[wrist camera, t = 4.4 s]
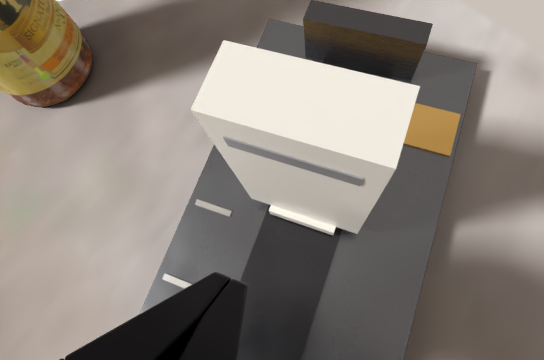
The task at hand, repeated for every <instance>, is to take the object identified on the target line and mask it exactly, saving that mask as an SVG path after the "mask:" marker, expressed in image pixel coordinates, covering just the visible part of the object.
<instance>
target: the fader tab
mask: <svg viewBox="0 0 544 360" xmlns="http://www.w3.org/2000/svg"><path fill="white" fill-rule="evenodd" d="M419 88H420V86H417V85H413V84H409V83H404V82H400V81H396V80H392V79H387V78H383V77H379V76H375V75H370V74H366V73H362V72H357V71H353V70H349V69H345V68H340V67H336V66H332V65H328V64H323V63H319V62H315V61H311V60H306V59H302V58H298V57H294V56H289V55H285V54H281V53H276V52H272V51H268V50H264V49H259V48H255V47H251V46H247V45H242V44H238V43H234V42H230V41H225V40H223V42H222V44H221V46H220V49H219V51H218V53H217V55H216V57H215V59H214V61H213V63H212V65H211V68H210V70H209V72H208V74H207V76H206V78H205V80H204V82H203V85H202V87H201V89H200V91H199V93H198V95H197V97H196V99H195V101H194V104H193V106H192V108H191V111H192V113H193V114H194V116H195V117H196V118H197V120H198V121H199V123H200V124H201V126H202V127H203V129H204V130H205V132H206V133H207V135H208V136H209V137H210V139H211V140H212V142H213V143H214V145H215V146H216V148H217V149H218V151H219V152H220V153H221V155H222V156H223V158H224V159H225V161H226V162H227V164H228V165H229V167H230V168H231V169H232V171H233V172H234V174H235V175H236V177H237V178H238V180H239V181H240V183H241V184H242V185H243V187H244V188H245V190H246V191H247V193H248V194H249V196H250V197H251V199H254V200H257V201H260V202H263V203H266V204H269V205H271V206H270V208H269V212H270V214H272V215H275V216H278V217H281V218H283V219H286V220H289V221H292V222H295V223H298V224H301V225H304V226H307V227H310V228H313V229H316V230H319V231H321V232H324V233H327V234H330V235H334V232H335V228H336V227H338V228H341V229H344V230H347V231H350V232H353V233H356V234H358V232H359V230H360V229H361V227H362V225H363V224H364V222H365V220H366V219H367V217H368V215H369V213H370V212H371V210H372V208H373V207H374V205H375V203H376V202H377V200H378V198H379V197H380V195H381V193H382V192H383V190H384V188H385V187H386V185H387V183H388V182H389V180H390V178H391V177H392V175H393V173H394V172H395V170H396V167H397V164H398V160H399V157H400V154H401V150H402V147H403V143H404V140H405V136H406V133H407V130H408V126H409V123H410V119H411V116H412V112H413V109H414V106H415V102H416V99H417V95H418V92H419Z"/></svg>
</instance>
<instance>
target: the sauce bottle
mask: <svg viewBox="0 0 544 360" xmlns="http://www.w3.org/2000/svg"><path fill="white" fill-rule="evenodd" d="M92 61H93V56H92V53H91V50H90V48H89V46H88V44H87V41H86V40H85V39H84V37H83V36H82V34H81V32H80V30H79V28H78V26H77V25H76V24H75V22H74V21H73V20H72V19H71V18H70V16H69V15H68V14H67V13H66V12H65V11H64V9H63V8H62V7H61V6H60V5H59V4H58V3H57V1H56V0H0V91H2V92H4V93H7V94H10V95H11V96H12V97H13V98H15V99H16V100H17V101H19V102H22V103H23V104H25V105H31V106H34V107H46V106H50V105H54V104H57V103H59V102H62V101H65V100H67V99H68V98H70V97H71V96H72V95H73V94H75V92H76V91H77V90H78V89H79V88H80V87H81V86H82V85H83V83H84V82H85V80H86V79H87V77H88V75H89V73H90V69H91V68H92Z"/></svg>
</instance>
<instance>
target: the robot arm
mask: <svg viewBox="0 0 544 360" xmlns="http://www.w3.org/2000/svg"><path fill="white" fill-rule="evenodd" d="M247 289H248V285H247V284H246V283H244V282H242V281H239V280H237V279H231V278H230V277H229V276H226V275H224V274H221V273H219V272H213V273H211V274H210V275H208V276H206V277H204V278H202V279H201V280H199V281H197V282H195V283H194V284H192V285H190V286H188V287H187V288H185V289H183V290H181V291H180V292H178V293H176V294H174V295H173V296H171V297H169V298H167V299H166V300H164V301H162V302H160V303H158V304H157V305H155V306H153V307H151V308H150V309H148V310H146V311H144V312H143V313H141V314H139V315H137V316H136V317H134V318H132V319H130V320H129V321H127V322H125V323H123V324H122V325H120V326H118V327H116V328H115V329H113V330H111V331H109V332H107V333H106V334H104V335H102V336H100V337H99V338H97V339H95V340H93V341H92V342H90V343H88V344H86V345H85V346H83V347H81V348H79V349H78V350H76V351H74V352H72V353H71V354H69V355H67V356H66V357H65V360H237V356H238V349H239V342H240V336H241V329H242V322H243V316H244V309H245V302H246V295H247ZM60 360H64V359H60Z"/></svg>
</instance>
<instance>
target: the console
mask: <svg viewBox="0 0 544 360" xmlns="http://www.w3.org/2000/svg"><path fill="white" fill-rule="evenodd" d="M303 21H304V26H300V25H295V24H290V23H286V22H281V21H276V20H271V19H269V21H268V23H267V26H266V28H265V30H264V33H263V35H262V37H261V39H260V42H259V44H258V46H257V48H259V49H264V50H268V51H272V52H276V53H281V54H285V55H289V56H294V57H298V58H302V59H306V60H311V61H315V62H319V63H323V64H328V65H332V66H336V67H340V68H345V69H349V70H353V71H357V72H362V73H366V74H370V75H375V76H379V77H383V78H387V79H392V80H396V81H400V82H404V83H409V84H413V85H417V86H420V88H419V92H418V95H417V99H416V102H415V106H414V109H413V112H412V116H411V119H410V123H409V126H408V130H407V133H406V136H405V140H404V143H403V147H402V150H401V154H400V157H399V160H398V164H397V167H396V170H395V172H394V173H393V175H392V177H391V178H390V180H389V182H388V183H387V185H386V187H385V188H384V190H383V192H382V193H381V195H380V197H379V198H378V200H377V202H376V203H375V205H374V207H373V208H372V210H371V212H370V213H369V215H368V217H367V219H366V220H365V222H364V224H363V225H362V227H361V229H360V230H359V232H358V234H356V233H353V232H350V231H347V230H344V229H341V228H338V227H336V228H335V232H334V235H330V234H327V233H324V232H321V231H319V230H316V229H313V228H310V227H307V226H304V225H301V224H298V223H295V222H292V221H289V220H286V219H283V218H281V217H278V216H275V215H272V214H270V212H269V208H270V206H271V205H269V204H266V203H263V202H260V201H257V200H254V199H251V197H250V196H249V194H248V193H247V191H246V190H245V188H244V187H243V185H242V184H241V183H240V181H239V180H238V178H237V177H236V175H235V174H234V172H233V171H232V169H231V168H230V167H229V165H228V164H227V162H226V161H225V159H224V158H223V156H222V155H221V153H220V152H219V151H218V149H217V148H216V146H215V145H214V146H213V148H212V151H211V153H210V155H209V157H208V160H207V162H206V164H205V166H204V169H203V171H202V173H201V176H200V178H199V180H198V182H197V185H196V187H195V189H194V191H193V194H192V196H191V198H190V200H189V203H188V205H187V207H186V210H185V212H184V214H183V216H182V219H181V221H180V223H179V225H178V228H177V230H176V232H175V235H174V237H173V239H172V241H171V244H170V246H169V248H168V250H167V253H166V255H165V257H164V259H163V262H162V264H161V266H160V269H159V271H158V273H157V275H156V278H155V280H154V282H153V284H152V287H151V289H150V291H149V294H148V296H147V298H146V300H145V303H144V305H143V307H142V309H141V312H140V314H141V313H143V312H144V311H146V310H148V309H150V308H151V307H153V306H155V305H157V304H158V303H160V302H162V301H164V300H166V299H167V298H169V297H171V296H173V295H174V294H176V293H178V292H180V291H181V290H183V289H185V288H187V287H188V286H190V285H192V284H194V283H195V282H197V281H199V280H201V279H202V278H204V277H206V276H208V275H210V274H211V273H213V272H219V273H221V274H224V275H226V276H229V277H230V278H231V279H237V280H239V281H242V282H244V283H246V284H247V285H248V289H247V295H246V302H245V309H244V316H243V322H242V329H241V336H240V342H239V349H238V356H237V360H403V359H404V355H405V351H406V347H407V343H408V339H409V335H410V331H411V327H412V323H413V319H414V315H415V311H416V307H417V303H418V299H419V295H420V291H421V287H422V283H423V279H424V275H425V271H426V267H427V263H428V259H429V255H430V251H431V247H432V243H433V239H434V235H435V231H436V227H437V223H438V219H439V215H440V211H441V207H442V203H443V199H444V194H445V190H446V186H447V182H448V178H449V174H450V170H451V166H452V162H453V158H454V154H455V150H456V146H457V142H458V138H459V134H460V130H461V126H462V122H463V118H464V114H465V110H466V106H467V102H468V98H469V94H470V90H471V86H472V82H473V78H474V74H475V70H476V66H477V63H473V62H468V61H463V60H459V59H454V58H449V57H445V56H440V55H435V54H431V53H426V52H424V50H425V47H426V45H427V42H428V38H429V35H430V31H431V28H432V25H433V24H431V23H426V22H421V21H416V20H410V19H405V18H400V17H395V16H390V15H385V14H380V13H375V12H370V11H364V10H359V9H354V8H349V7H344V6H339V5H334V4H329V3H324V2H318V1H313V0H311V1H310V4H309V6H308V9H307V11H306V14H305V16H304V19H303Z"/></svg>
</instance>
